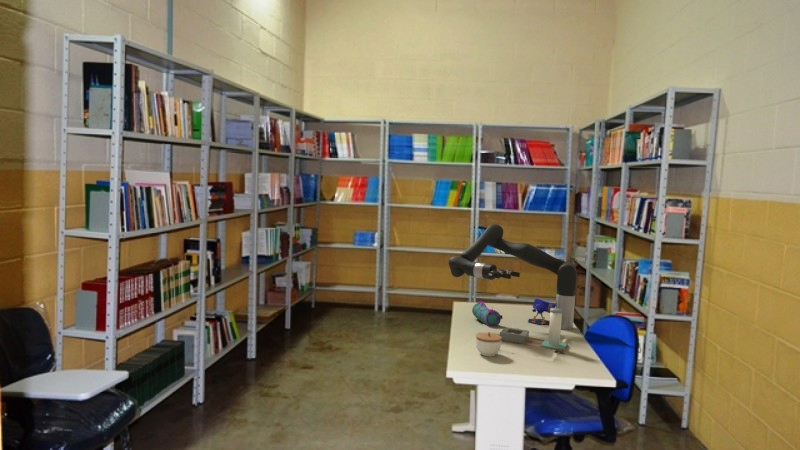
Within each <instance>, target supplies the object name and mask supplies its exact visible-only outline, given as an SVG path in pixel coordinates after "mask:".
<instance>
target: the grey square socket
mask: <svg viewBox="0 0 800 450" xmlns="http://www.w3.org/2000/svg"><path fill="white" fill-rule="evenodd" d="M499 336H501V337H502V340H503V341H509V342H516V343H522V344H524V343H525V342H526V340H527V339H528V338H529V337H530V330H526V329H520V328H512V327H507V326H505V327H504V328H503V329H502V330H501V331H500V332H499ZM503 341H502V342H503ZM509 342H508V343H509ZM522 344H521V345H522Z"/></svg>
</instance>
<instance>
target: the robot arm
mask: <svg viewBox="0 0 800 450" xmlns="http://www.w3.org/2000/svg"><path fill="white" fill-rule="evenodd" d="M503 236H504V229H503V227H502V226H501V225H499V224H497V223H493V224H490V225H488V227H486V229H485V230H484V232H483V233H482V234H481V235H480V236H479V237H478V238H477V239H476V240H475V241H474V242H473V243H471V245H470V246H468V247H467V248H466V249H465V250H463V252H462V253H461V254H460V256H459V255H455V256H452V257H450V258H448V267H449V270H450V273H451V275H452V277H454V278H461V277H462V276H464V275H465V274H466V275H467V276H469V277H475V278H479V279H483V280H488V281H489V280H490V281H493V280H495V279H498V280H499V279H507V280H511V279H512V277H516V278H520V276H521V272H519V271H515V270H513V269H508V268H507V269H506V268H497V266H496V264H493V263H486V262H476V260H477V259H478V258H479V257H480V256H481V255H482V254H483V252H484V251H485V249H486V248H487V247H488V246H489V247H491V248H492V249H496V250H497V251H498V250H499V251H501V252H503V253H506V254H508V255H511V256H513V257H515V258H517V259H519V260H521V261H523V262H524V263H525V262H526V263H527V264H530V265H532V266H534V267H537V268H542V269H545V270H548V271H550V272H551V273H553V274H555V275H556V276H557V278H556V279H557V280H556V293H555V294H556V297H555V308H559V309H562V319H561V330H564V331H565V330H569V331H570V330H573V329H574V316H575V315H574V314H575V305H576V304H575V302H576V301H575V300H576V292H577V291H576V288H577V287H576V286H577V275H578V274H577V273H578V271H577V268H576V265H574V264H573V263H570V262H568V261H565V260H561V259H558V258H556V257H554V256H552V255H551V254H549V253H547V252H545V251H544V250H542V249H540V248H538V247H536V246H534V245H532V244H530V243H526V242H511V241H508V240H505V239H504V238H503Z"/></svg>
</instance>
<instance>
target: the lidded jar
mask: <svg viewBox="0 0 800 450" xmlns="http://www.w3.org/2000/svg"><path fill="white" fill-rule="evenodd" d="M475 338H476V339H475V340H476V341H475V344H476V349H477V351H478V352H479V354H480V355H481V356H484V357H495V356H496V354H498V353H499V352H500V350H501V346H502V341H501V340H502V337H501V336H500V334H496V333H491V332H481V333H478V334H476V335H475Z"/></svg>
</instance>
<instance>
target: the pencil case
mask: <svg viewBox="0 0 800 450" xmlns="http://www.w3.org/2000/svg"><path fill="white" fill-rule="evenodd" d="M471 309H472V310H471V311H472V314H473V316H474V317H475V319H477V320H478V321H480V322H481V323H483V324H484V325H486V326H488V327H491V326H492V327H493V326H499V325H500V323H501V320H503V315H502V314H500V313H499V312H498V311H497V310H495V309H493V308H489V307H488V306H487V305H486V304H485V303H484V302H483V300H479V301H478V302H477V303H475V304H474V305H473V306H472V308H471Z"/></svg>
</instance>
